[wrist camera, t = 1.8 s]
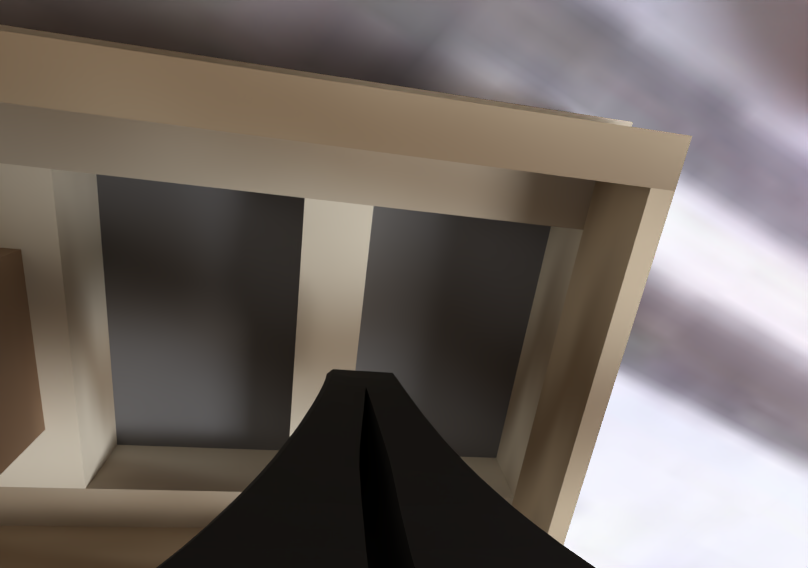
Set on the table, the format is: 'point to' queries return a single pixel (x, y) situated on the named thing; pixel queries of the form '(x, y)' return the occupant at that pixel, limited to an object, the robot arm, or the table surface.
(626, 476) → the table surface
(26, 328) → the walnut block
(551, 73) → the table surface
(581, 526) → the table surface
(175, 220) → the box
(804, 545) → the table surface
